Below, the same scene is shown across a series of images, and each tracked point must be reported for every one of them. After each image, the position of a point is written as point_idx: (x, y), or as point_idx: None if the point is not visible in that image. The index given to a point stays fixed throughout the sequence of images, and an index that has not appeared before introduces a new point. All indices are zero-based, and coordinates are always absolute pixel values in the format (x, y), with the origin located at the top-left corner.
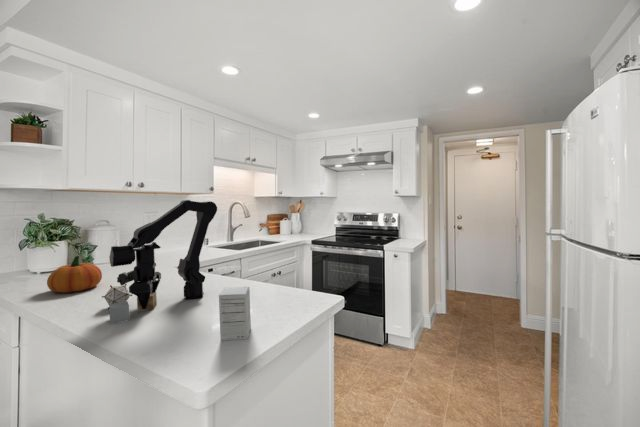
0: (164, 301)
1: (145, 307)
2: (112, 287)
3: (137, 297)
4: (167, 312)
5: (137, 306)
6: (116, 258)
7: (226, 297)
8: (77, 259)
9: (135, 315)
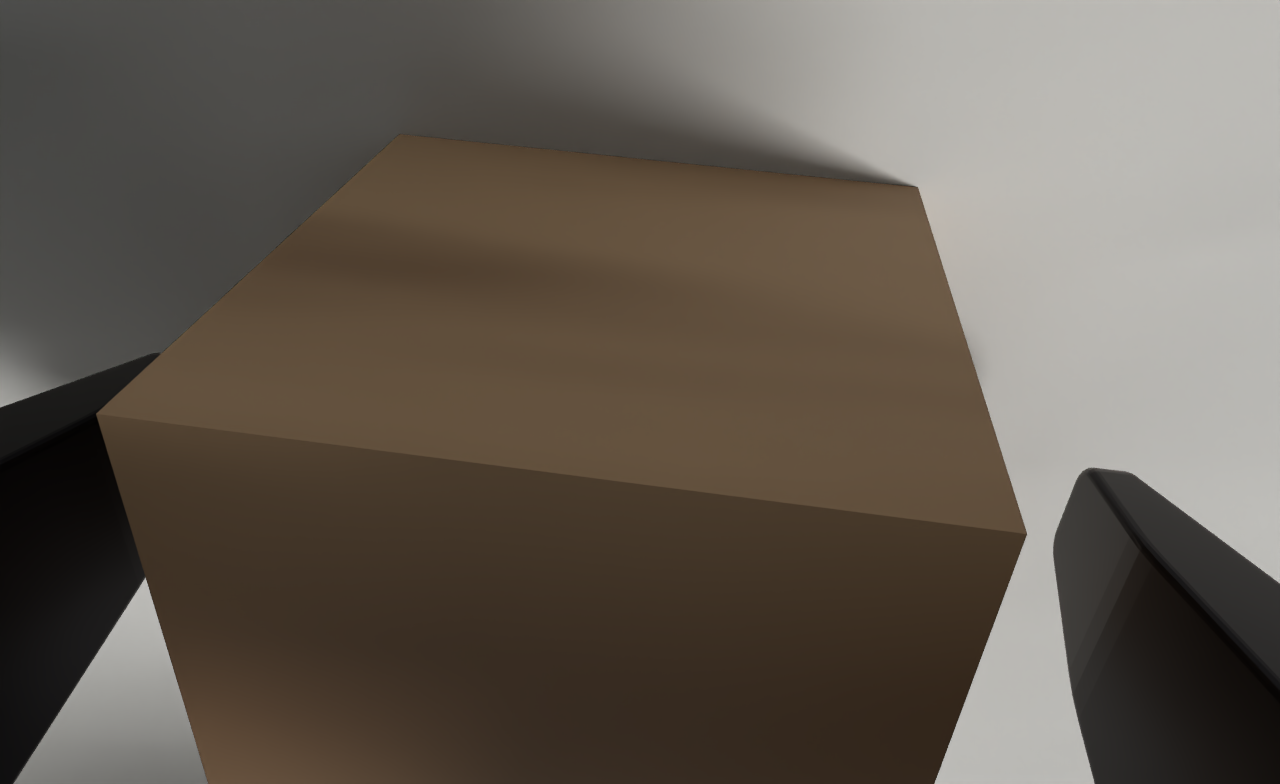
0: (1076, 722)
1: None
2: None
3: (133, 434)
4: (142, 735)
5: (325, 205)
6: None
7: None
8: None
9: (13, 133)
